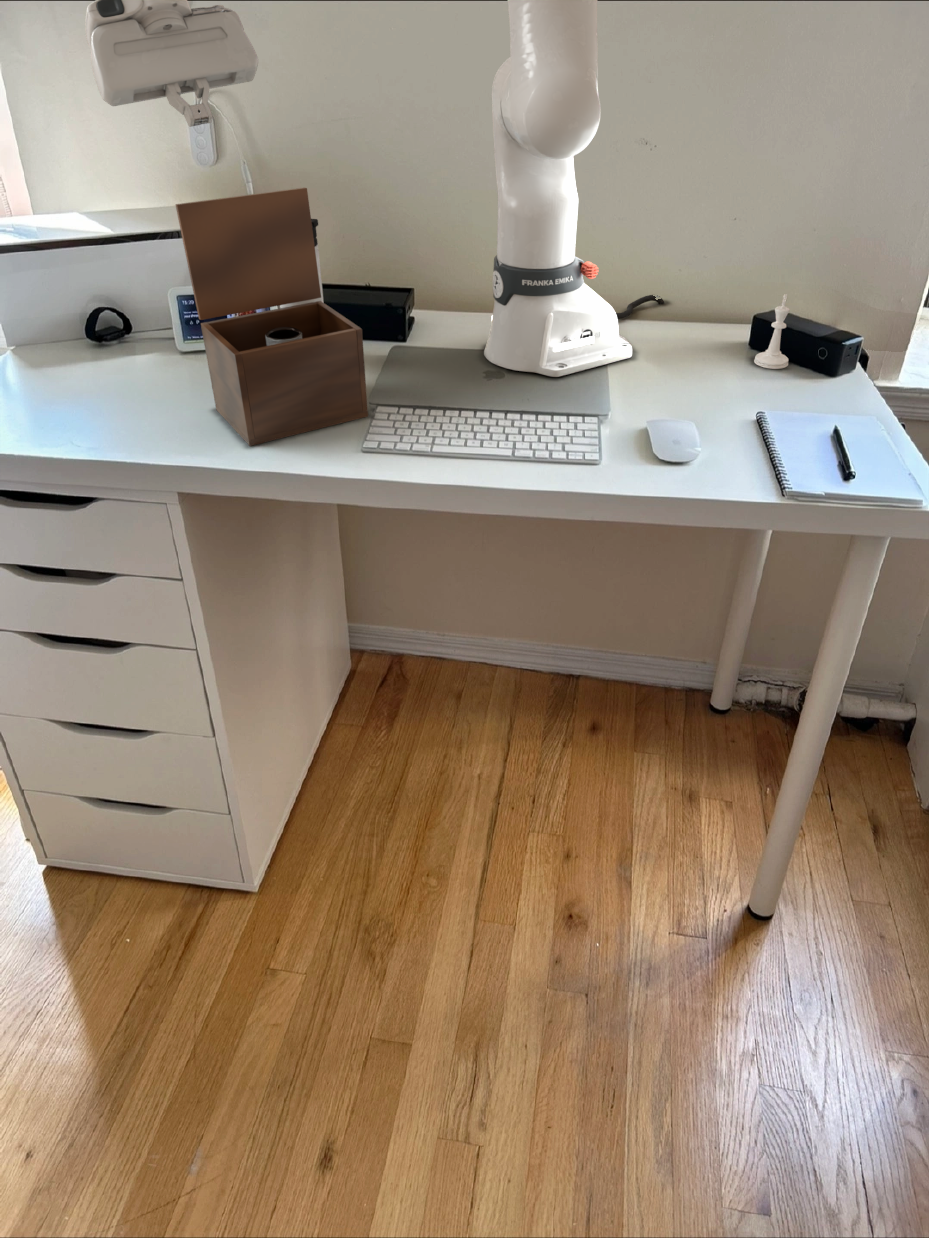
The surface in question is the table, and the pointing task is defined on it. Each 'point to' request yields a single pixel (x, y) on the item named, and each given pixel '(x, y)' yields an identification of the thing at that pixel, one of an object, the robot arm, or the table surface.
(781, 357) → the chess piece
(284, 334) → the gray cylinder
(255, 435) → the storage box
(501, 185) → the robot arm
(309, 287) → the box lid
